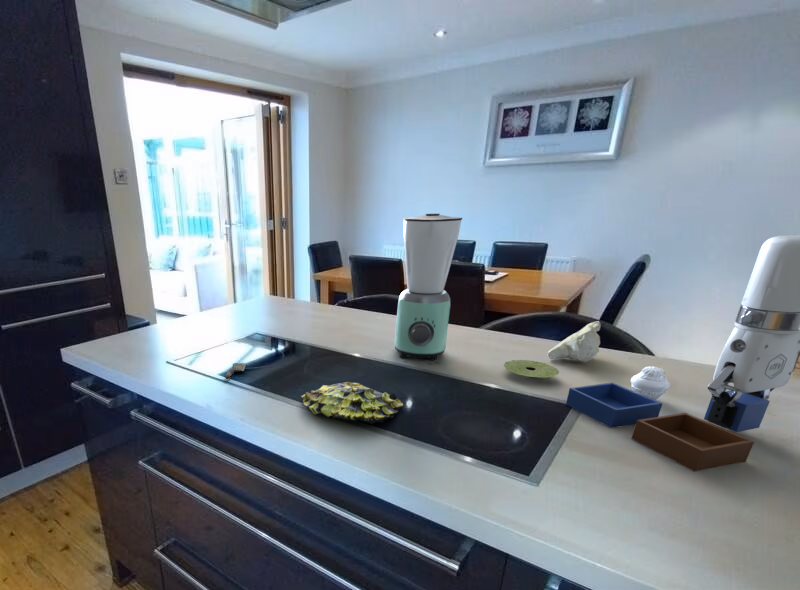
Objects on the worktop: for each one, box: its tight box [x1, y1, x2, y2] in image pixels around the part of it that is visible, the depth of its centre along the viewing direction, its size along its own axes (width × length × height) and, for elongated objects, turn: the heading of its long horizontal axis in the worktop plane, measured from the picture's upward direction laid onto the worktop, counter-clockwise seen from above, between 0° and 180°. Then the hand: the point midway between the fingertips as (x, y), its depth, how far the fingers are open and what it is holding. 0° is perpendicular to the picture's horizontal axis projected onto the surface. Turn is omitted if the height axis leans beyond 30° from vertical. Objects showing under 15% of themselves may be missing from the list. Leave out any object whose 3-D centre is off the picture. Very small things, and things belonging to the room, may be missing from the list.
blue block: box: [703, 390, 771, 433], centre depth 75 cm, size 5×5×5 cm
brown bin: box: [630, 412, 756, 472], centre depth 71 cm, size 10×10×4 cm
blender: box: [393, 212, 463, 362], centre depth 112 cm, size 19×13×35 cm
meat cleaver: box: [224, 362, 247, 380], centre depth 108 cm, size 12×1×5 cm
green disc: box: [503, 359, 560, 378], centre depth 101 cm, size 11×11×2 cm
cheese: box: [546, 320, 601, 363], centre depth 110 cm, size 15×7×15 cm
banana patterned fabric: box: [300, 381, 404, 424], centre depth 88 cm, size 20×16×6 cm
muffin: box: [630, 366, 671, 401], centre depth 88 cm, size 6×6×7 cm
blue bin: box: [565, 382, 663, 429], centre depth 83 cm, size 10×10×4 cm
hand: (731, 421), depth 76 cm, fingers closed on blue block, 5 cm apart
